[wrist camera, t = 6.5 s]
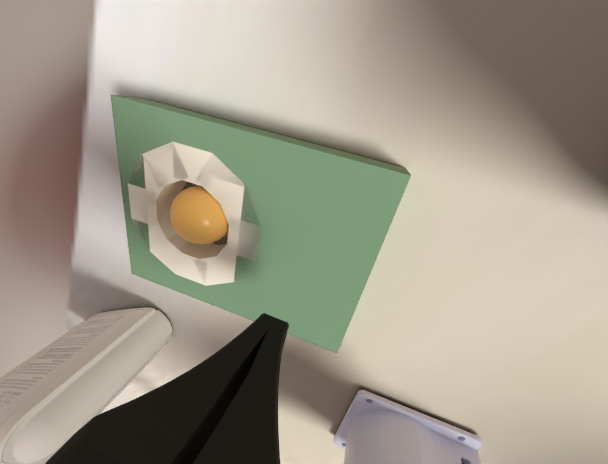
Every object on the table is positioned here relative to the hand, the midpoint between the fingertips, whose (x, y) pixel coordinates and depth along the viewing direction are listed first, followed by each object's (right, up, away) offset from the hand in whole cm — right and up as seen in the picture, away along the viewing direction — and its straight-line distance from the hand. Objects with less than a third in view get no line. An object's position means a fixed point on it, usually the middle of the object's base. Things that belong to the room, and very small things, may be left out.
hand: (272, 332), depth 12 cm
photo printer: (-16, -4, +13) cm, 21 cm away
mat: (-2, +5, +5) cm, 7 cm away
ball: (-5, +6, +3) cm, 8 cm away
